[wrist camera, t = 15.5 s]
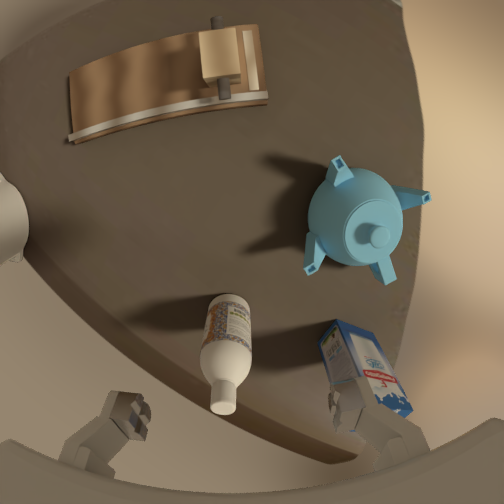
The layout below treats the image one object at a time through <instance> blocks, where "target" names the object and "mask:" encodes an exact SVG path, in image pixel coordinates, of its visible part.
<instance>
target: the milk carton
mask: <svg viewBox="0 0 504 504" xmlns="http://www.w3.org/2000/svg"><path fill="white" fill-rule="evenodd" d="M318 346H319V350H320V353H321V356H322V359H323V362H324V366H325V369H326V372H327V376H328V379H329V382H330V385H331V383H332V382H337V381H342V380H347V379H351V378H357V377H361V376H366V377H367V378H368V381H369V383H370V385H371V388H372V390H373V392H374V395H375V397H376V399H377V402H378V404H381V403H382V404H383V405H385V406H386V407H388V408H389V409H391V410H393V411H394V412H396V413H397V414H399V415H400V416H402V417H404V418H405V417H406V416H408V415H409V414H410V413H411V412H412V411H413V409H412V407H411V405H410V403H409V401H408V399H407V397H406V395H405V392H404V390H403V389H402V387H401V385H400V383H399V381H398V379H397V377H396V375H395V373H394V371H393V369H392V367H391V365H390V363H389V361H388V360H387V358H386V356H385V354H384V352H383V350H382V348H381V347H380V345H379V343H378V341H377V339H376V338H375V336H374V334H373V333H371V332H369V331H366V330H363V329H361V328H358V327H356V326H353V325H351V324H348V323H345V322H343V321H340V320H338V319H336V320H335V321H334V323H333V324H332V325H331V326H330V328H329V329H328V330H327V331H326V333H325V334H324V335H323V336H322V338H321V339H320V340H319V341H318ZM351 431H355V430H351ZM355 432H356V431H355Z"/></svg>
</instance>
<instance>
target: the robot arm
mask: <svg viewBox="0 0 504 504" xmlns="http://www.w3.org/2000/svg"><path fill="white" fill-rule="evenodd" d="M28 234H29V220H28V214H27V210H26V206H25V203H24V201H23V198H22V196H21V195H20V193H19V191H18V190H17V189H16V188H15V187H14V186H13V185H12V184H10V183H9V182H7V181H6V180H5V178H4V177H3V175H2V174H1V173H0V266H1V265H3V264H4V263H5V262H7V261H12V262H20V261H22V259H23V249H24V246H25V244H26V242H27V239H28ZM330 390H331V393H329V398H328V402H329V409H330V413H331V414H332V415H333V416H334V418H333V425H334V428H335V432H336V433H342V432H347V431H351V430H355V431H356V432H357V433H358V434H359V435H360V436H361V437H362V438H364V439H365V440H366V441H367V442H368V443H369V444H371V445H372V446H373V447H374V448H375V449H376V450H378V451H379V452H380V455H379V456H378V458H377V459H376V460H375V462H374V463H373V467H374V471H375V472H373V473H369V474H366V475H362V476H358V477H355V478H351V479H347V480H343V481H338V482H334V483H329V484H324V485H318V486H313V487H306V488H300V489H292V490H283V491H273V492H259V493H205V492H191V491H180V490H171V489H164V488H157V487H151V486H145V485H140V484H135V483H130V482H126V481H121V480H117V479H114V475H115V471H114V469H113V468H111V467H110V466H109V465H108V464H107V463H108V462H109V461H110V460H111V459H112V458H113V457H114V456H115V455H116V454H117V453H118V452H119V451H120V450H121V449H122V447H123V446H124V445H125V444H126V443H127V442H128V441H129V439H131V440H140V441H145V440H146V435H147V431H148V429H147V427H146V425H147V424H148V423H149V422H150V419H151V410H150V407H149V405H148V404H147V403H146V402H144V401H143V400H144V397H143V396H142V394H139V393H129V392H121V391H110V392H109V394H108V396H107V399H106V401H105V404H104V406H103V408H102V411H101V414H100V416H99V417H95V418H94V419H93V420H92V421H90V422H89V423H88V424H86V425H85V426H84V427H83V428H81V429H80V430H79V431H77V432H76V433H75V434H73V435H72V436H71V437H69V438H68V439H67V440H66V441H65V443H64V446H63V448H62V451H61V454H60V456H59V459H58V460H55V459H53V458H51V457H48V456H46V455H44V454H41V453H39V452H37V451H35V450H33V449H31V448H29V447H27V446H24V445H23V444H21V443H19V442H17V441H15V440H12V439H8V440H6V441H4V442H2V443H1V444H0V504H504V420H501V419H497V418H490V419H488V420H486V421H485V422H483V423H482V424H480V425H478V426H477V427H475V428H473V429H472V430H470V431H469V432H467V433H465V434H463V435H461V436H460V437H457V438H456V439H454V440H452V441H450V442H448V443H446V444H444V445H442V446H440V447H437V448H436V449H433V450H431V451H430V448H429V446H428V444H427V442H426V439H425V437H424V435H423V432H422V430H421V428H420V427H418V426H416V425H415V424H413V423H412V422H410V421H408V420H407V419H405V418H404V417H402V416H400V415H399V414H397V413H396V412H394V411H393V410H391V409H389V408H388V407H386V406H385V405H383V404H382V403H381V404H378V402H377V399H376V397H375V395H374V392H373V390H372V388H371V385H370V383H369V381H368V378H367V377H366V376H361V377H357V378H351V379H347V380H342V381H337V382H332V383H331V385H330Z"/></svg>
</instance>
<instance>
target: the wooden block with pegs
mask: <svg viewBox="0 0 504 504" xmlns="http://www.w3.org/2000/svg"><path fill="white" fill-rule="evenodd" d="M211 29H212V30H211V31H204V32H199V42H200V53H201V63H202V73H203V79H204V80H205V82H206V83H207V85H208V86H209V87H210V88H211V87H218V96H219V100H227V99H231V90H230V85H234V84H241V72H240V64H239V55H238V46H237V38H236V29H235V28H226V29H224V26H223V17H221V16H215V17H212V18H211Z"/></svg>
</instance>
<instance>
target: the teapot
mask: <svg viewBox="0 0 504 504" xmlns="http://www.w3.org/2000/svg"><path fill="white" fill-rule="evenodd" d="M325 178H326V180H325V181H323V183H322V184H321V185H320V186H319V187H318V189H317V190H316V191H315V193H314V195H313V197H312V200H311V202H310V206H309V210H308V225H309V230H310V232H308V233H307V234H306V245H305V255H304V265H303V268H304V270H305V272H306V273H307V275H308V276H309V275H310V274H312V273H314V272H315V271H317V270H319V269H318V268H319V266H320V264H321V263H322V261H323V259H324V257H325V255H327V256H328V257H330V258H332V259H333V260H335V261H337V262H339V263H342V264H346V265H351V266H363V265H369V266H370V268H371V270H372V272H373V275H374V277H375V278H376V279H377V280H378V281H380V282H381V283H383V284H384V285H387V284H389V283H390V282H392V281H394V280H396V276H395V272H394V269H393V266H392V263H391V260H390V257H389V254H390V253H391V252H392V251H393V250H394V249H395V247H396V246H397V244H398V242H399V240H400V237H401V234H402V227H403V216H402V210H404V209H408V208H411V207H414V206H418V205H421V204H426V203H427V202H429V201H431V195H430V192H428V191H423V190H418V189H412V188H406V187H401V186H394V185H392V186H390V185H389V184H388V183H387V182H386V181H385V180H384V179H383V178H382V177H380V176H379V175H377V174H376V173H374V172H371V171H369V170H366V169H361V168H348V167H347V165H346V164H345V162H344V161H343V160H342V158H341V156H340V155H339V156H337V157H336V158H334V159H332V160H331V161H330V165H329V168H328V171H327V174H326V177H325Z"/></svg>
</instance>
